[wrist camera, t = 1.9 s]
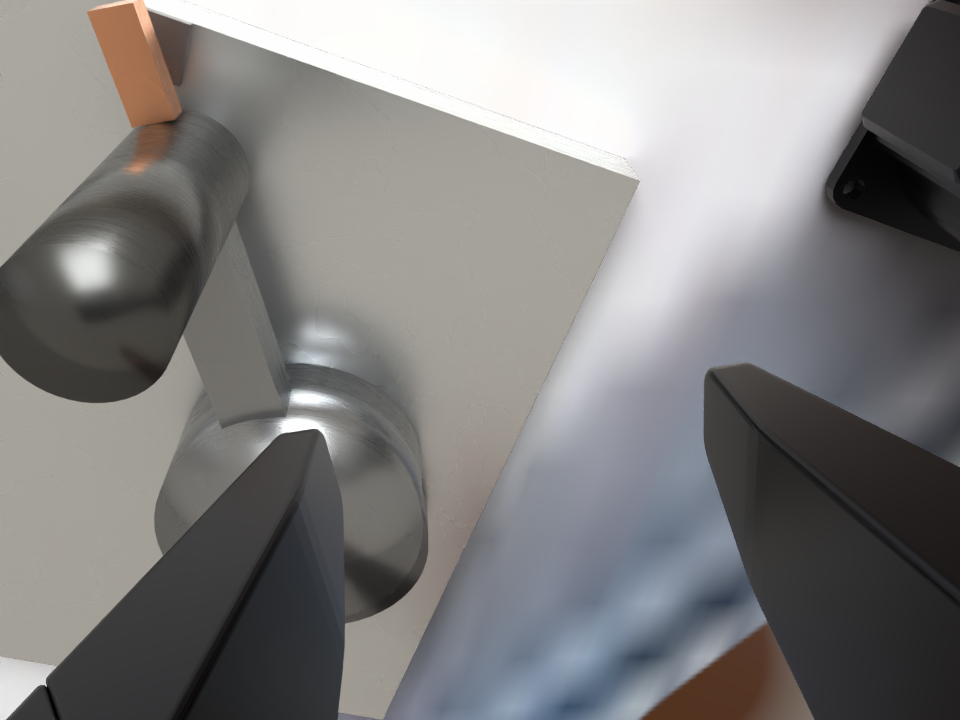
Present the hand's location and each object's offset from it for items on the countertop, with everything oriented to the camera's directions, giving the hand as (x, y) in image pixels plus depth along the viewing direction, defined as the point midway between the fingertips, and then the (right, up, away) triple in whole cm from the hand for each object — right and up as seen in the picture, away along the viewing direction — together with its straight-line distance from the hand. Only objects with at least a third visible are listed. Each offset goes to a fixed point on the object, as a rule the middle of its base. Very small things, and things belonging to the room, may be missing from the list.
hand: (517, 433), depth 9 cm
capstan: (-5, +1, +11) cm, 12 cm away
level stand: (-9, 0, +13) cm, 16 cm away
